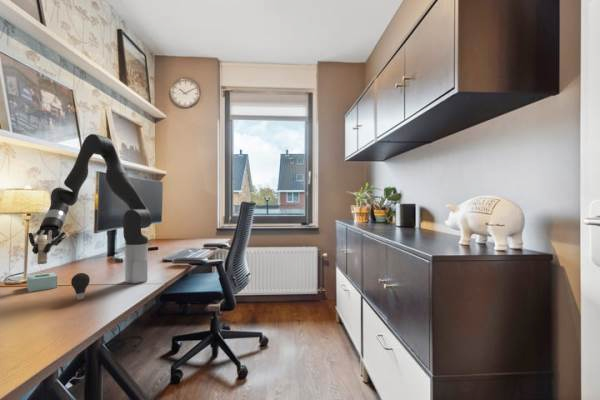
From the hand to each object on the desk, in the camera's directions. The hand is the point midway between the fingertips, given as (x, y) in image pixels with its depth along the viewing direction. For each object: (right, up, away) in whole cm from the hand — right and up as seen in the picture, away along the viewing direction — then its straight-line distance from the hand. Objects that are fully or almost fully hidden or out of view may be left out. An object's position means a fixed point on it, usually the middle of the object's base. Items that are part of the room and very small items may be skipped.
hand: (40, 252), depth 127 cm
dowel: (-1, -5, +2) cm, 5 cm away
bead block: (-1, -15, +2) cm, 15 cm away
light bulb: (+27, -15, -14) cm, 34 cm away
